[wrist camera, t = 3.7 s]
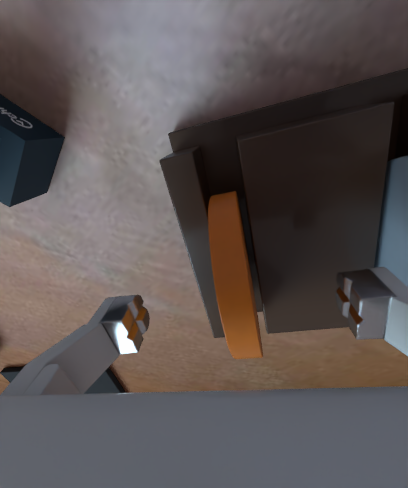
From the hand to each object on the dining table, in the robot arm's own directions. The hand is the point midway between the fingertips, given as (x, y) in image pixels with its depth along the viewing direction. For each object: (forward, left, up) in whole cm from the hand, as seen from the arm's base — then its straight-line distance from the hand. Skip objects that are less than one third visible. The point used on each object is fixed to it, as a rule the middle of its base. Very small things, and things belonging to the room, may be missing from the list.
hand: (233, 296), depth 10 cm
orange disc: (0, 0, -2) cm, 2 cm away
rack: (0, +4, -7) cm, 8 cm away
